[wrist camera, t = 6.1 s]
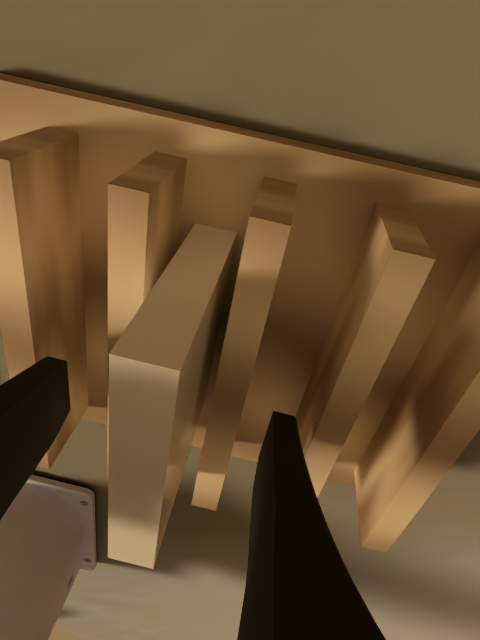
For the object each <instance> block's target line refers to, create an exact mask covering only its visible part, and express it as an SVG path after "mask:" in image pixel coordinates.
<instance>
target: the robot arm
mask: <svg viewBox="0 0 480 640" xmlns="http://www.w3.org/2000/svg"><path fill="white" fill-rule="evenodd" d="M70 410H71V407H70V393H69V379H68V365H67V361H66V360H62V359H57V358H53V357H49V356H46V357H45V358H43V359H41V360H40V361H38V362H37V363H35V364H33V365H32V366H30V367H29V368H27V369H25V370H24V371H22V372H21V373H19V374H18V375H16V376H14V377H13V378H11V379H10V380H8V381H6V382H5V383H3V384H2V385H0V640H48V638H49V636H50V634H51V632H52V629H53V627H54V625H55V623H56V620H57V618H58V616H59V614H60V612H61V609H62V607H63V605H64V603H65V600H66V598H67V596H68V594H69V591H70V589H71V587H72V585H73V583H74V580H75V578H76V576H77V574H78V571H79V569H80V568H81V569H85V570H89V571H92V570H94V569H95V567H96V564H97V561H96V528H95V495H94V493H93V492H92V491H91V490H90V489H87V488H84V487H80V486H76V485H72V484H68V483H64V482H60V481H56V480H52V479H48V478H44V477H40V476H36V475H32V473H33V472H34V470H35V469H36V467H37V466H38V464H39V463H40V461H41V460H42V458H43V457H44V455H45V454H46V452H47V451H48V450H49V448H50V447H51V445H52V444H53V442H54V441H55V439H56V437H57V435H58V433H59V431H60V429H61V427H62V426H63V424H64V422H65V420H66V418H67V416H68V414H69V412H70ZM237 640H386V639H385V638H384V636H383V634H382V633H381V631H380V629H379V628H378V626H377V624H376V623H375V621H374V619H373V617H372V615H371V613H370V612H369V610H368V608H367V606H366V604H365V602H364V601H363V599H362V597H361V595H360V593H359V591H358V590H357V588H356V586H355V584H354V582H353V580H352V578H351V576H350V574H349V572H348V570H347V568H346V566H345V564H344V562H343V560H342V558H341V556H340V553H339V551H338V549H337V547H336V544H335V542H334V540H333V538H332V535H331V533H330V531H329V528H328V526H327V523H326V521H325V518H324V515H323V513H322V510H321V507H320V505H319V502H318V499H317V496H316V493H315V490H314V487H313V484H312V481H311V478H310V475H309V471H308V468H307V465H306V461H305V457H304V453H303V449H302V445H301V441H300V436H299V431H298V426H297V419H296V418H295V417H294V416H293V415H288V414H284V413H280V412H276V411H273V413H272V416H271V419H270V423H269V426H268V429H267V432H266V435H265V438H264V441H263V444H262V447H261V450H260V453H259V457H258V463H257V469H256V474H255V480H254V486H253V496H252V510H251V525H250V540H249V555H248V569H247V578H246V587H245V594H244V600H243V607H242V613H241V620H240V626H239V633H238V639H237Z"/></svg>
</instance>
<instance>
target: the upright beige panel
mask: <svg viewBox="0 0 480 640" xmlns="http://www.w3.org/2000/svg"><path fill="white" fill-rule="evenodd" d="M236 237H237V233H235V232H231V231H227V230H222V229H218V228H214V227H210V226H205V225H201V224H197V223H195V225H194V227H193V228H192V230H191V231H190V233H189V234H188V236H187V237H186V239H185V240H184V242H183V243H182V245H181V246H180V248H179V249H178V251H177V252H176V254H175V255H174V257H173V258H172V260H171V261H170V263H169V264H168V266H167V267H166V269H165V270H164V272H163V273H162V275H161V276H160V278H159V279H158V281H157V282H156V284H155V285H154V287H153V288H152V290H151V291H150V293H149V294H148V296H147V297H146V299H145V300H144V302H143V303H142V305H141V306H140V308H139V310H138V311H137V313H136V314H135V316H134V317H133V319H132V320H131V322H130V323H129V325H128V326H127V328H126V329H125V331H124V332H123V334H122V335H121V337H120V338H119V340H118V341H117V343H116V344H115V346H114V347H113V349H112V350H111V352H110V353H109V450H108V558H111V559H115V560H119V561H123V562H127V563H131V564H135V565H139V566H143V567H147V568H151V569H153V568H154V565H155V562H156V559H157V555H158V552H159V549H160V546H161V543H162V539H163V536H164V533H165V530H166V526H167V523H168V520H169V517H170V513H171V510H172V507H173V504H174V500H175V497H176V494H177V491H178V488H179V484H180V481H181V478H182V475H183V471H184V468H185V465H186V462H187V458H188V455H189V452H190V449H191V445H192V442H193V439H194V436H195V433H196V429H197V426H198V423H199V420H200V416H201V413H202V410H203V407H204V403H205V399H206V393H207V388H208V383H209V378H210V373H211V367H212V362H213V357H214V352H215V346H216V341H217V336H218V331H219V325H220V320H221V315H222V310H223V305H224V299H225V294H226V289H227V284H228V278H229V273H230V268H231V263H232V258H233V252H234V247H235V242H236Z"/></svg>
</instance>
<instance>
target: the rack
mask: <svg viewBox="0 0 480 640" xmlns="http://www.w3.org/2000/svg"><path fill="white" fill-rule="evenodd" d="M195 223H197V224H201V225H205V226H210V227H214V228H218V229H222V230H227V231H231V232H235V233H237V237H236V242H235V247H234V252H233V258H232V263H231V268H230V273H229V278H228V284H227V289H226V294H225V299H224V305H223V310H222V315H221V320H220V325H219V331H218V336H217V341H216V346H215V352H214V357H213V362H212V367H211V373H210V378H209V383H208V388H207V393H206V399H205V403H204V407H203V410H202V413H201V416H200V420H199V423H198V426H197V429H196V433H195V436H194V439H193V442H192V445H191V446H194V447H198V448H202V453H201V458H200V463H199V468H198V473H197V478H196V483H195V488H194V493H193V498H192V503H191V505H194V506H198V507H202V508H206V509H210V510H214V511H216V509H217V505H218V501H219V497H220V494H221V490H222V486H223V482H224V478H225V475H226V471H227V467H228V463H229V460H230V456H235V457H239V458H243V459H247V460H251V461H255V462H258V457H259V453H260V450H261V447H262V444H263V441H264V438H265V435H266V432H267V429H268V426H269V423H270V419H271V416H272V413H273V411H276V412H280V413H284V414H288V415H293V416H294V417H295V418H296V419H297V426H298V431H299V436H300V441H301V445H302V449H303V453H304V457H305V461H306V465H307V468H308V471H309V475H310V478H311V481H312V484H313V487H314V490H315V493H316V496H317V498H318V496H319V494H320V492H321V490H322V488H323V486H324V484H325V482H326V480H327V479H328V480H332V481H336V482H341V483H345V484H349V485H353V486H355V487H356V499H357V510H358V521H359V533H360V544H361V547H363V548H367V549H371V550H375V551H379V552H383V553H387V551H388V550H389V549H390V547H391V546H392V545H393V543H394V542H395V541H396V539H397V538H398V537H399V535H400V534H401V533H402V531H403V530H404V529H405V527H406V526H407V525H408V523H409V522H410V521H411V520H412V518H413V517H414V516H415V514H416V513H417V512H418V510H419V509H420V508H421V506H422V505H423V504H424V502H425V501H426V500H427V498H428V497H429V496H430V494H431V493H432V492H433V490H434V489H435V488H436V487H437V485H438V484H439V483H440V481H441V480H442V479H443V477H444V476H445V475H446V473H447V472H448V471H449V469H450V468H451V467H452V465H453V464H454V463H455V461H456V460H457V459H458V457H459V456H460V455H461V453H462V452H463V451H464V450H465V448H466V447H467V446H468V444H469V443H470V442H471V440H472V439H473V438H474V436H475V435H476V434H477V432H478V431H479V430H480V181H475V180H471V179H466V178H462V177H458V176H453V175H449V174H444V173H440V172H436V171H431V170H427V169H422V168H418V167H413V166H409V165H405V164H400V163H396V162H391V161H387V160H383V159H378V158H374V157H369V156H365V155H360V154H356V153H352V152H347V151H343V150H338V149H334V148H330V147H325V146H321V145H316V144H312V143H308V142H303V141H299V140H294V139H290V138H285V137H281V136H277V135H272V134H268V133H263V132H259V131H255V130H250V129H246V128H241V127H237V126H232V125H228V124H224V123H219V122H215V121H210V120H206V119H202V118H197V117H193V116H188V115H184V114H180V113H175V112H171V111H166V110H162V109H157V108H153V107H149V106H144V105H140V104H135V103H131V102H127V101H122V100H118V99H113V98H109V97H104V96H100V95H96V94H91V93H87V92H82V91H78V90H74V89H69V88H65V87H60V86H56V85H52V84H47V83H43V82H38V81H34V80H29V79H25V78H21V77H16V76H12V75H7V74H3V73H0V328H1V334H2V339H3V345H4V350H5V356H6V361H7V367H8V373H9V378H10V379H11V378H13V377H14V376H16V375H18V374H19V373H21V372H22V371H24V370H25V369H27V368H29V367H30V366H32V365H33V364H35V363H37V362H38V361H40V360H41V359H43V358H45V357H46V356H49V357H53V358H57V359H62V360H66V361H67V365H68V379H69V393H70V407H71V410H70V412H69V414H68V416H67V418H66V420H65V422H64V424H63V426H62V427H61V429H60V431H59V433H58V435H57V437H56V439H55V441H54V442H53V444H52V445H51V447H50V448H49V450H48V451H47V452H46V454H45V455H44V457H43V458H42V460H41V461H40V463H39V464H38V466H37V467H41V468H45V469H50V467H51V466H52V464H53V462H54V461H55V459H56V458H57V456H58V454H59V453H60V451H61V450H62V448H63V446H64V445H65V443H66V442H67V440H68V438H69V437H70V435H71V434H72V432H73V430H74V429H75V427H76V426H77V424H78V422H79V421H80V419H84V420H88V421H92V422H96V423H100V424H104V425H108V450H109V353H110V352H111V350H112V349H113V347H114V346H115V344H116V343H117V341H118V340H119V338H120V337H121V335H122V334H123V332H124V331H125V329H126V328H127V326H128V325H129V323H130V322H131V320H132V319H133V317H134V316H135V314H136V313H137V311H138V310H139V308H140V306H141V305H142V303H143V302H144V300H145V299H146V297H147V296H148V294H149V293H150V291H151V290H152V288H153V287H154V285H155V284H156V282H157V281H158V279H159V278H160V276H161V275H162V273H163V272H164V270H165V269H166V267H167V266H168V264H169V263H170V261H171V260H172V258H173V257H174V255H175V254H176V252H177V251H178V249H179V248H180V246H181V245H182V243H183V242H184V240H185V239H186V237H187V236H188V234H189V233H190V231H191V230H192V228H193V227H194V225H195Z"/></svg>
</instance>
